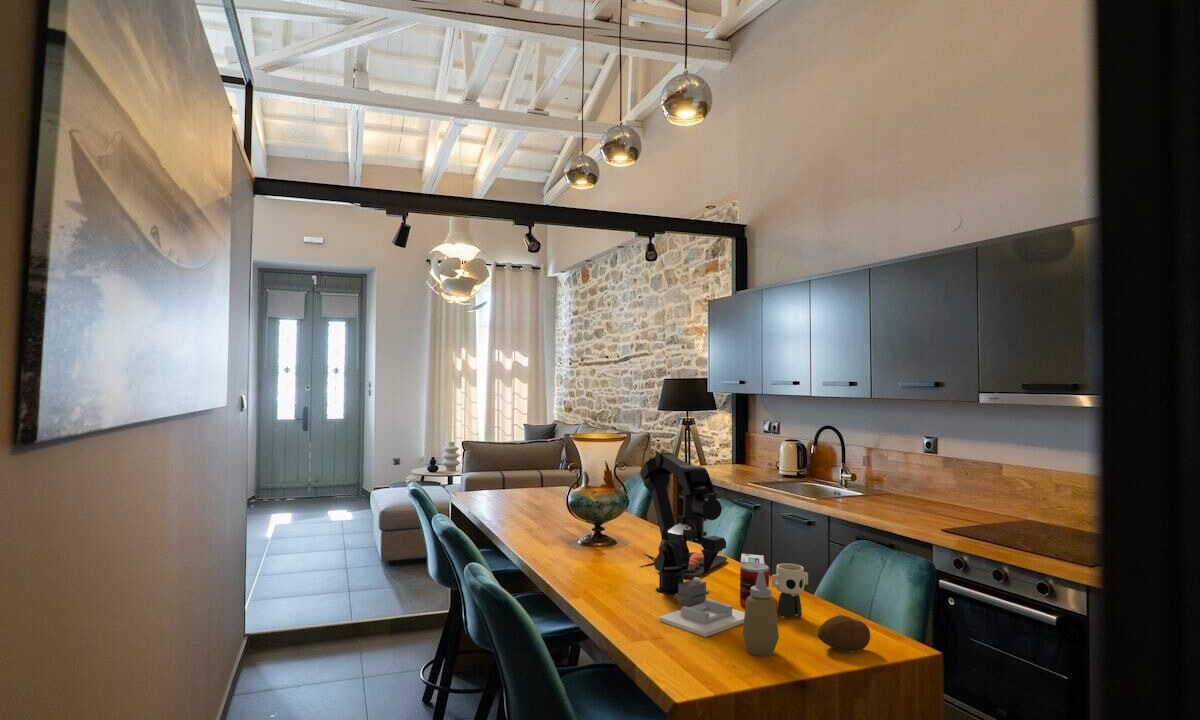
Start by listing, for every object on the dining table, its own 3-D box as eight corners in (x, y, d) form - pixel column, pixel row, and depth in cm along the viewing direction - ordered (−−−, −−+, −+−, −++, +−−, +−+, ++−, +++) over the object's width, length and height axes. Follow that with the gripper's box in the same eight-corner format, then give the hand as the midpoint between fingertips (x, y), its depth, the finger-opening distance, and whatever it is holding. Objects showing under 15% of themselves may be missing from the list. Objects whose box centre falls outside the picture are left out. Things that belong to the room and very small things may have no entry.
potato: (878, 654, 161) (878, 620, 162) (829, 658, 159) (829, 623, 159) (857, 641, 169) (857, 609, 170) (810, 645, 167) (810, 612, 167)
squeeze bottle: (737, 645, 165) (738, 567, 166) (771, 645, 166) (772, 567, 167) (748, 659, 157) (749, 577, 158) (783, 658, 158) (784, 576, 159)
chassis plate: (658, 620, 181) (659, 607, 181) (707, 604, 195) (707, 592, 195) (705, 636, 170) (705, 622, 171) (753, 618, 184) (753, 605, 184)
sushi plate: (695, 582, 219) (695, 570, 219) (611, 567, 235) (612, 556, 235) (730, 562, 244) (730, 551, 244) (652, 550, 259) (652, 540, 260)
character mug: (778, 622, 182) (779, 571, 182) (764, 613, 188) (764, 564, 189) (815, 619, 185) (816, 568, 185) (799, 610, 192) (800, 562, 192)
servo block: (674, 606, 193) (674, 580, 193) (697, 599, 200) (698, 574, 200) (686, 610, 190) (686, 584, 191) (709, 603, 197) (709, 577, 197)
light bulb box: (764, 602, 199) (765, 563, 199) (740, 600, 200) (740, 561, 200) (763, 591, 209) (764, 554, 210) (740, 589, 211) (741, 553, 211)
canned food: (769, 603, 197) (770, 564, 198) (766, 612, 190) (767, 571, 190) (742, 600, 200) (742, 561, 200) (737, 609, 192) (738, 568, 193)
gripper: (648, 511, 197) (647, 567, 197) (702, 522, 184) (700, 583, 183) (674, 506, 205) (673, 561, 204) (727, 517, 191) (726, 575, 191)
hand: (692, 570), depth 196 cm, fingers open, 9 cm apart
